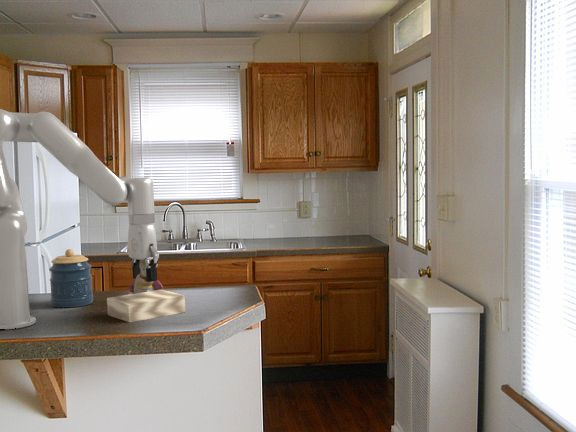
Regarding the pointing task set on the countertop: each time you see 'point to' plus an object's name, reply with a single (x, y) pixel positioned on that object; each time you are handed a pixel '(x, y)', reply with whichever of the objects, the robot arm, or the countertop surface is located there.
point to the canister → (71, 281)
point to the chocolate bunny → (142, 278)
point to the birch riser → (145, 305)
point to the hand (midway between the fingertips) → (145, 279)
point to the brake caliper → (133, 290)
